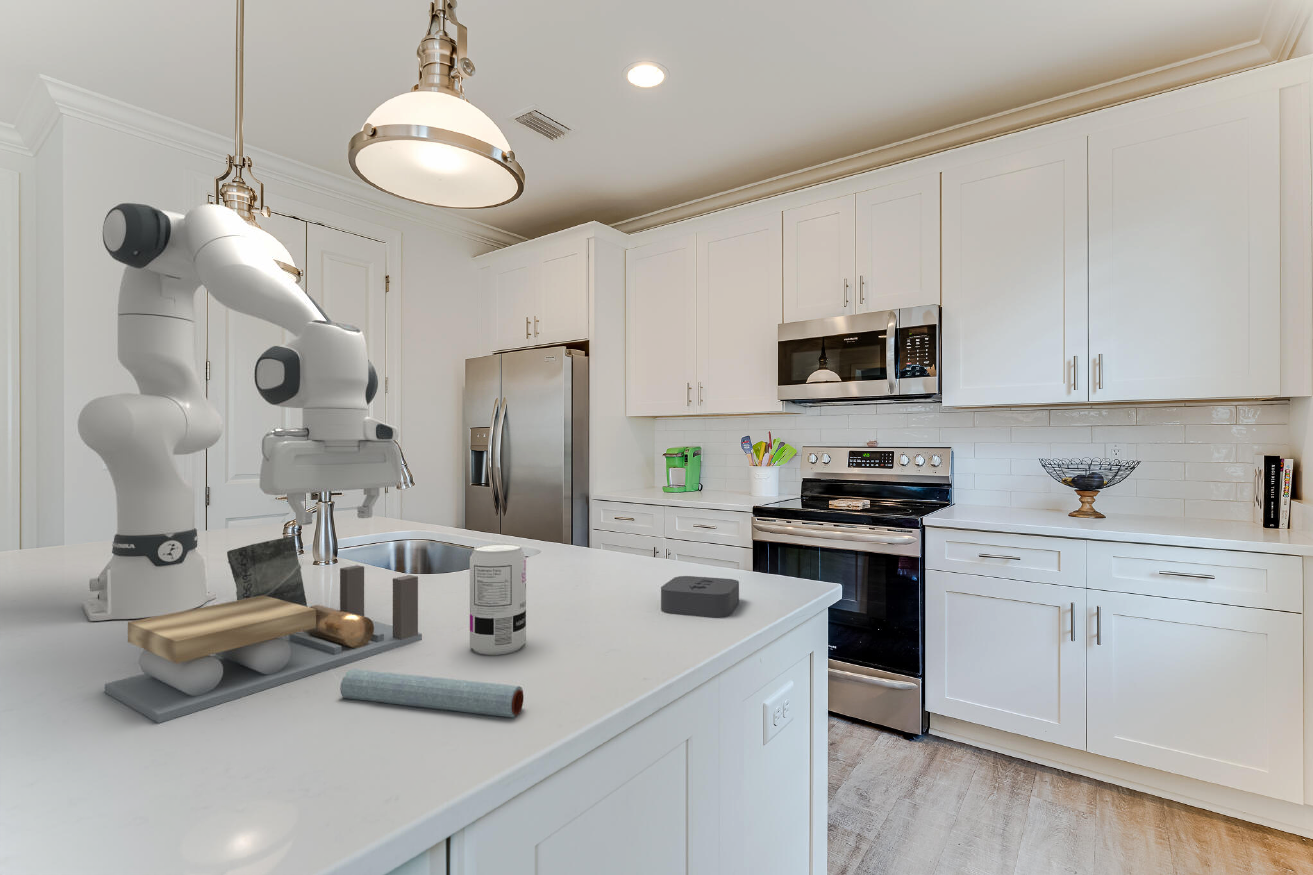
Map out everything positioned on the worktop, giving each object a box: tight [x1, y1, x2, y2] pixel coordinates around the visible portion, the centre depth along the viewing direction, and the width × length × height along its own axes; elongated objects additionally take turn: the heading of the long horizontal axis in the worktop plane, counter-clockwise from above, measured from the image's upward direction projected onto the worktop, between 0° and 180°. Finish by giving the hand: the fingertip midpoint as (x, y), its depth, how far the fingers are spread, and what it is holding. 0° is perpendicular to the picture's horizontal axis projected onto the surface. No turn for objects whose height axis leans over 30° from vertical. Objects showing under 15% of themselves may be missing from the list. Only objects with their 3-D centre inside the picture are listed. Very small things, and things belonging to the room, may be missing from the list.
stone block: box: [226, 535, 308, 607], centre depth 102 cm, size 9×14×5 cm
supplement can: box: [469, 542, 527, 656], centre depth 95 cm, size 8×8×15 cm
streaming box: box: [660, 575, 740, 619], centre depth 117 cm, size 13×13×5 cm
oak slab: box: [127, 595, 316, 663], centre depth 82 cm, size 14×16×2 cm
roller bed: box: [104, 564, 423, 724], centre depth 88 cm, size 16×34×10 cm, turn 147°
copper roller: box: [302, 604, 374, 648], centre depth 95 cm, size 12×4×4 cm, turn 58°
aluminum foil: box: [339, 668, 524, 718], centre depth 73 cm, size 23×7×3 cm, turn 76°
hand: (335, 521), depth 95 cm, fingers open, 8 cm apart
